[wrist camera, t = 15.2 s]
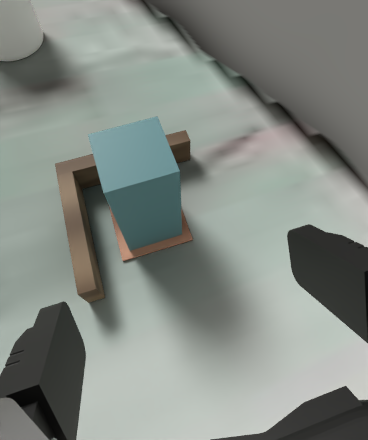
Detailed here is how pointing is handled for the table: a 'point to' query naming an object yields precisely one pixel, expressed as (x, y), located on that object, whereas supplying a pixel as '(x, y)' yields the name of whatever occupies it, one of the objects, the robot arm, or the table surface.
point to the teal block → (139, 181)
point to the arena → (78, 219)
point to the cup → (18, 30)
